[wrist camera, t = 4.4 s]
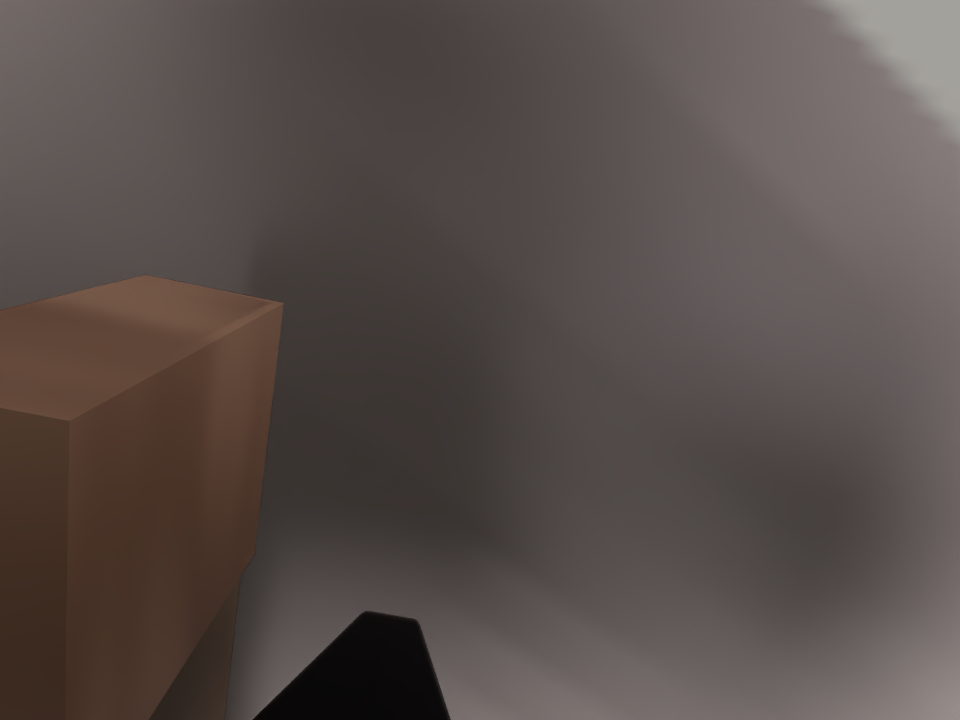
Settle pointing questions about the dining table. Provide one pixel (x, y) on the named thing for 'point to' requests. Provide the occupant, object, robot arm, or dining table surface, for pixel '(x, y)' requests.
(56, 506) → the bar
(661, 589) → the dining table surface
